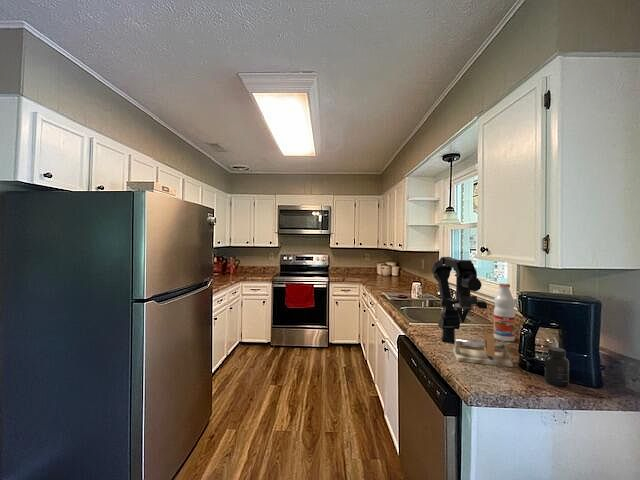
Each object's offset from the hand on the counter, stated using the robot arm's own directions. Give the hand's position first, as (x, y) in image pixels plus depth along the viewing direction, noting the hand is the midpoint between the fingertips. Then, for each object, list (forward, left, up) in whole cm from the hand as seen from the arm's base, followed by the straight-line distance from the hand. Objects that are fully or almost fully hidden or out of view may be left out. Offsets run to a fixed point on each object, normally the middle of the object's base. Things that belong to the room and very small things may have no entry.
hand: (462, 322), depth 140 cm
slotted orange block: (+8, +9, -10) cm, 16 cm away
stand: (+8, +6, -13) cm, 16 cm away
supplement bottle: (+26, +26, -13) cm, 39 cm away
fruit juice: (-26, +24, -13) cm, 38 cm away
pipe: (+8, +6, -8) cm, 13 cm away
